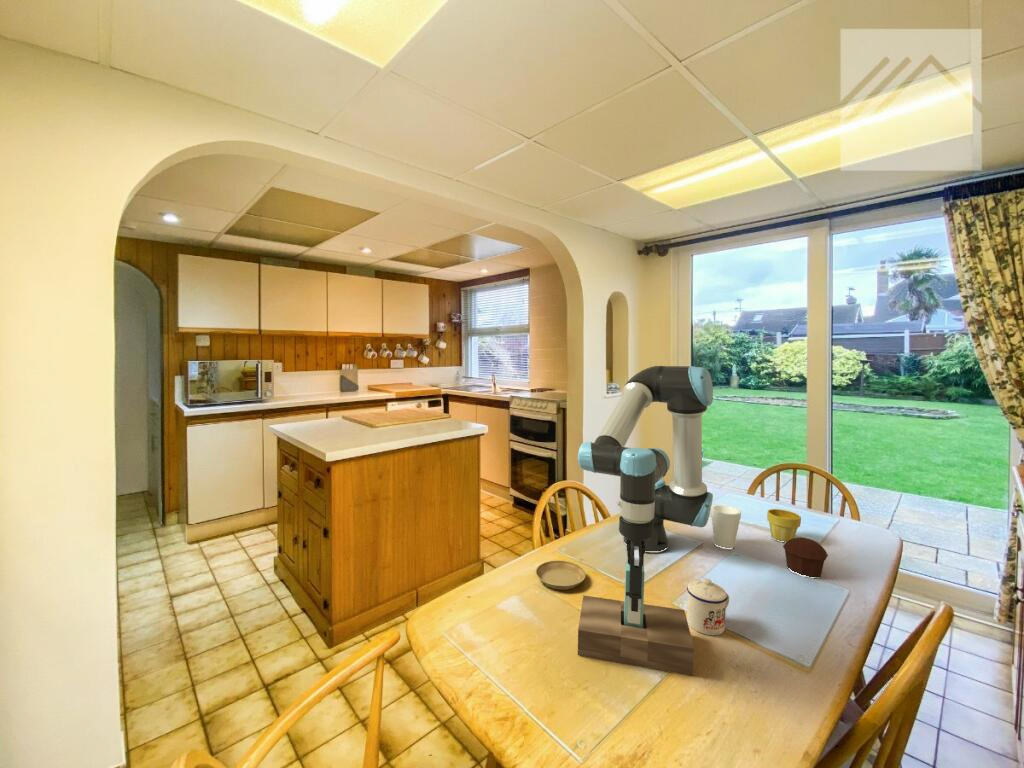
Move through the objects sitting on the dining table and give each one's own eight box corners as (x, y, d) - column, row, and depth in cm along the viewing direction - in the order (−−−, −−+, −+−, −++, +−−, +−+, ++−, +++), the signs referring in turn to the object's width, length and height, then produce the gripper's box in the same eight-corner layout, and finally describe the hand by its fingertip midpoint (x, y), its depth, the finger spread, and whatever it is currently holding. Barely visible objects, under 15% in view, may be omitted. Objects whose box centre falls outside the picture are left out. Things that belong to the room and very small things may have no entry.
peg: (624, 619, 101) (625, 562, 100) (641, 621, 100) (643, 564, 99) (624, 629, 97) (625, 570, 96) (642, 632, 96) (644, 572, 95)
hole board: (582, 618, 109) (583, 595, 108) (683, 633, 103) (684, 609, 102) (577, 655, 95) (578, 629, 95) (693, 676, 89) (694, 648, 89)
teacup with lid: (706, 640, 100) (708, 593, 100) (677, 618, 109) (679, 574, 108) (742, 628, 105) (745, 582, 104) (712, 608, 114) (714, 565, 113)
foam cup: (703, 541, 154) (705, 506, 153) (724, 538, 157) (725, 503, 156) (723, 553, 145) (725, 515, 144) (745, 549, 148) (747, 513, 147)
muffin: (813, 563, 139) (815, 533, 138) (835, 581, 128) (837, 549, 127) (774, 561, 140) (776, 531, 139) (793, 579, 129) (795, 547, 128)
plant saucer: (545, 597, 118) (545, 588, 118) (529, 571, 132) (529, 563, 132) (594, 590, 122) (594, 581, 122) (573, 565, 136) (573, 557, 136)
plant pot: (799, 537, 158) (800, 512, 157) (800, 548, 149) (801, 521, 149) (766, 531, 163) (767, 506, 163) (765, 541, 155) (767, 515, 154)
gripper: (619, 503, 106) (616, 593, 108) (619, 530, 90) (616, 637, 91) (651, 506, 104) (648, 598, 106) (657, 534, 88) (653, 643, 89)
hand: (633, 616), depth 99 cm, fingers closed on peg, 4 cm apart
